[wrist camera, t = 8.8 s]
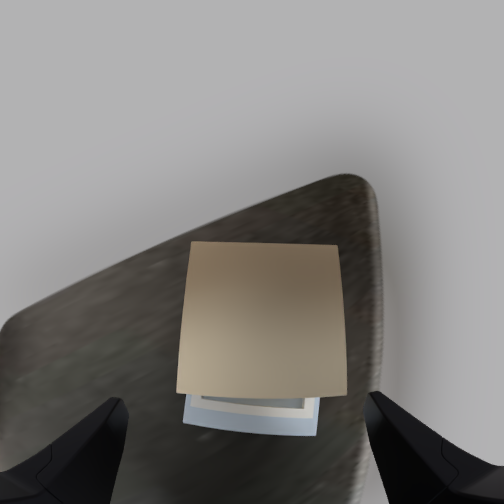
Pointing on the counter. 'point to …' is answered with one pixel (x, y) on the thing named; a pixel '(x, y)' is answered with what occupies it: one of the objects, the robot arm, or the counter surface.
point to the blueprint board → (254, 414)
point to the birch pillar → (263, 322)
